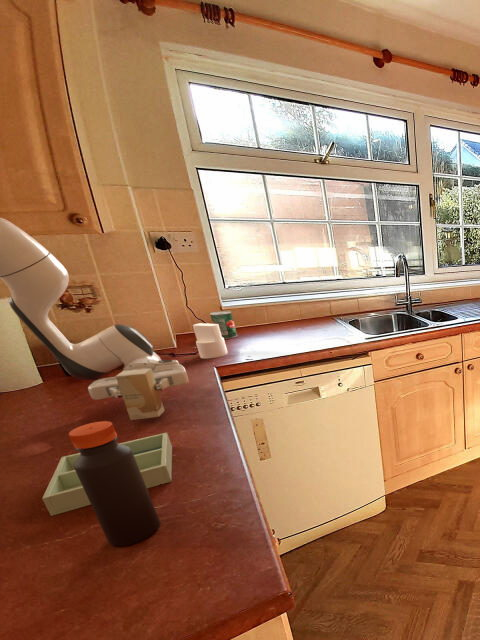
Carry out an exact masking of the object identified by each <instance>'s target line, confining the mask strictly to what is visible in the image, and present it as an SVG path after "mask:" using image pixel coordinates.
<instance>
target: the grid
mask: <svg viewBox="0 0 480 640" xmlns="http://www.w3.org/2000/svg"><path fill="white" fill-rule="evenodd" d="M119 444H122V445H125V446H128V447H129V448H130V449H131V450H132V452H133V455H134V457H135V460H136V462H137V465H138V467H139V470H140V472H141V475H142V477H143V480H144V483H145V485H146V488H147V489H150V488H153V487H158V486H160V484H161V485H164V484H169V483H171V482H172V481H173V480H172V477H173V474H172V473H173V445H172V442H171V440H170V437H169V433H168V432H163V433H159V434H158V433H157V434H155V435H154V434H153V435H150V436H147V437H141V438H138V439H133V440H129V441H125V442H120V443H119ZM80 454H81V453H80V452H78V453H74V454H69V455H65V456H61V458H60V460H59V462H58V463H57V466H56V468H55V471H54V473H53V475H52V477H51V479H50V480H49V483H48V485H47V488H46V490H45V491H44V494H43V496H42V498H41V499H42V502H43V503H44V505H45V507H46V509H47V511H48V513H49V515H50V517H52V516H53V517H54V516H56V515H59V514H63V513H66V512H69V511H73V510H77V509H80V508H84V507H87V506H90V505H91V503H90V501H89V499H88V497H87V495H86V493H85V490H84V488H83V486H82V484H81V482H80V480H79V477H78V475H77V473H76V471H75V469H74V466H73V465H74V462H75V461H76V459H77V458H78V457H79V455H80ZM91 506H92V505H91Z"/></svg>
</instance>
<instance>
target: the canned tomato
mask: <svg viewBox="0 0 480 640" xmlns="http://www.w3.org/2000/svg"><path fill="white" fill-rule="evenodd" d="M209 315H210V318H211V324H218V325H219V328H220V332H221V335H222V337H223V338H224V340H228V339H229V340H230V339H233V338H236V337H238V333H237V329H236V325H235V321H234V317H233V314H232V311H231V310H220V311H215V312H214V311H213V312H210V313H209Z"/></svg>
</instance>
